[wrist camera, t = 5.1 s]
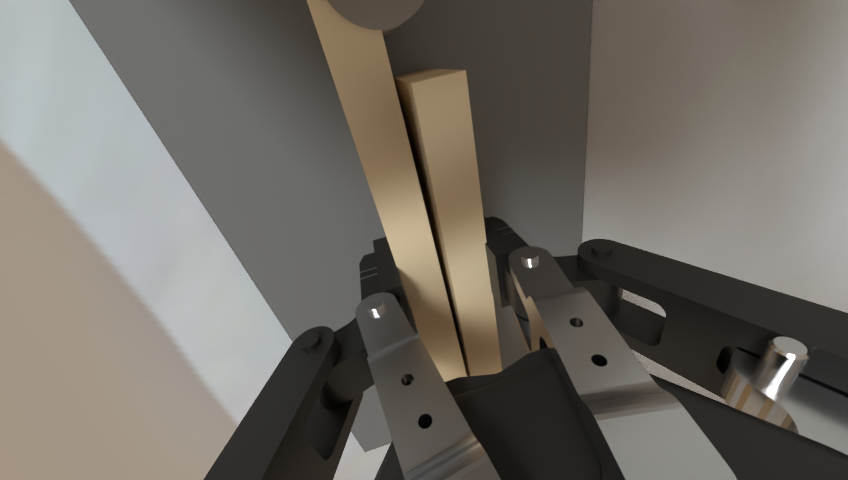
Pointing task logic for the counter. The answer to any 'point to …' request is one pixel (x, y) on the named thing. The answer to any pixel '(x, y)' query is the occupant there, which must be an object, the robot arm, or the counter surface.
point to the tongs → (389, 157)
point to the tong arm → (453, 204)
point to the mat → (350, 134)
